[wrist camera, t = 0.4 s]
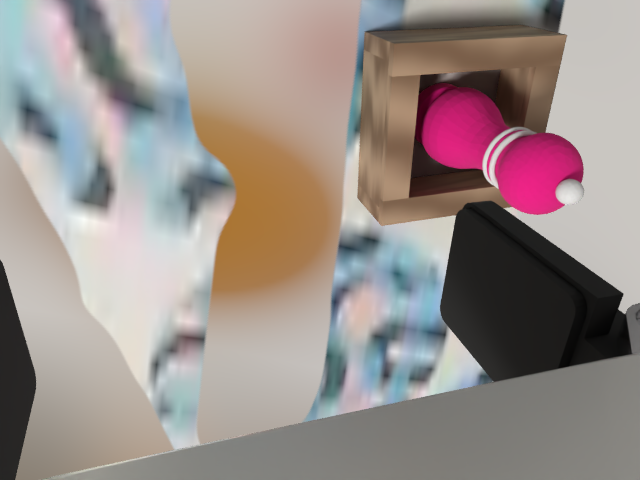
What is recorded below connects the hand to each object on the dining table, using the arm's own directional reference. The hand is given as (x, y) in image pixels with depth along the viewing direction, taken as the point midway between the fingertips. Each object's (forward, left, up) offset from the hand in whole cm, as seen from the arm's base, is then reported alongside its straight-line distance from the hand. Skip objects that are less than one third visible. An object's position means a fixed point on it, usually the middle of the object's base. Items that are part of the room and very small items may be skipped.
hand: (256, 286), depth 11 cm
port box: (+9, +25, -36) cm, 45 cm away
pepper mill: (+9, +25, -37) cm, 45 cm away
